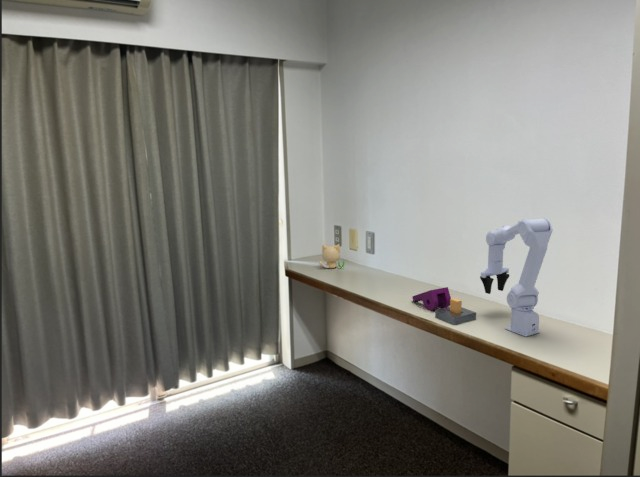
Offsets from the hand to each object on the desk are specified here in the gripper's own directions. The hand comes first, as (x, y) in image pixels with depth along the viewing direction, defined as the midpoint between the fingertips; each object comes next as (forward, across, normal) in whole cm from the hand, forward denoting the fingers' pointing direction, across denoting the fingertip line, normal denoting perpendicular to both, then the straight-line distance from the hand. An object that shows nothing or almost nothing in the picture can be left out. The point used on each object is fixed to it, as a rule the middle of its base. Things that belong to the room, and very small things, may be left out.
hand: (494, 291), depth 196 cm
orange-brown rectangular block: (+10, +17, -5) cm, 20 cm away
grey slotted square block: (+10, +17, -5) cm, 20 cm away
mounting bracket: (+10, +14, -24) cm, 30 cm away
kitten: (+10, +14, -110) cm, 111 cm away
